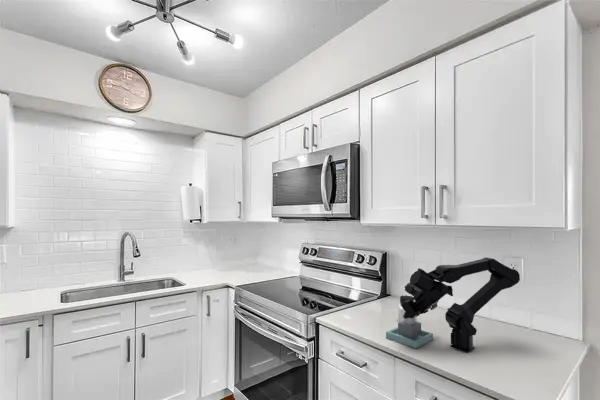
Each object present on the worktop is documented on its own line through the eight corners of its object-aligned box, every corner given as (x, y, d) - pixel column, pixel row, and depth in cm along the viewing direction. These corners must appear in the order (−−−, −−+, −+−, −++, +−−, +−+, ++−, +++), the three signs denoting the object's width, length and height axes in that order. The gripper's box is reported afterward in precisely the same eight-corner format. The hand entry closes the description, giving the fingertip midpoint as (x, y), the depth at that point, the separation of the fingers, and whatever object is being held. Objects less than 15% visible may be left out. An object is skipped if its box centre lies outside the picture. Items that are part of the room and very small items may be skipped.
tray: (433, 340, 121) (433, 333, 121) (416, 349, 112) (416, 342, 112) (403, 330, 131) (403, 324, 131) (386, 338, 122) (386, 331, 122)
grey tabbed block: (421, 334, 121) (420, 311, 122) (412, 338, 117) (411, 315, 117) (407, 330, 126) (407, 308, 126) (398, 334, 122) (397, 311, 122)
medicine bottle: (416, 325, 137) (416, 298, 137) (400, 324, 138) (399, 297, 139) (413, 320, 144) (413, 294, 144) (398, 318, 145) (398, 293, 146)
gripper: (429, 274, 126) (405, 295, 134) (405, 280, 114) (380, 303, 122) (449, 297, 119) (422, 318, 127) (425, 306, 107) (398, 329, 115)
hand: (406, 316), depth 123 cm, fingers closed on grey tabbed block, 3 cm apart
